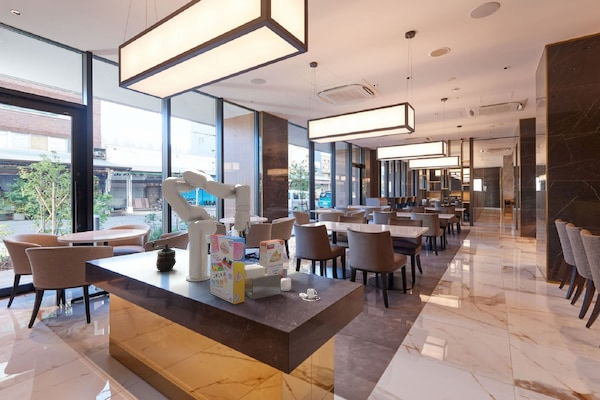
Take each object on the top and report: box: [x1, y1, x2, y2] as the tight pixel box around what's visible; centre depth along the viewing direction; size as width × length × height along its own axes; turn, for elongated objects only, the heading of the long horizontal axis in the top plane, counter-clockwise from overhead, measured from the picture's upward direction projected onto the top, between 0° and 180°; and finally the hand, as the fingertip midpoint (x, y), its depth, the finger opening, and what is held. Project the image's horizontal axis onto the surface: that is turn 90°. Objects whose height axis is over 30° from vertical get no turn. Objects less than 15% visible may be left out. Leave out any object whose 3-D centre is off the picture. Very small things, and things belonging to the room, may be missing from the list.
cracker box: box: [259, 238, 285, 278], centre depth 164 cm, size 14×6×21 cm, turn 144°
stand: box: [245, 274, 281, 300], centre depth 141 cm, size 20×14×9 cm
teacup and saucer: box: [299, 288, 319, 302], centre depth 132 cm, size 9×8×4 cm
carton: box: [245, 263, 265, 279], centre depth 145 cm, size 9×10×4 cm
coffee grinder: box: [151, 241, 177, 272], centre depth 178 cm, size 13×15×18 cm
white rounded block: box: [280, 277, 292, 292], centre depth 144 cm, size 5×5×5 cm
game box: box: [209, 233, 246, 305], centre depth 131 cm, size 21×6×27 cm, turn 44°
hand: (242, 244), depth 153 cm, fingers closed
